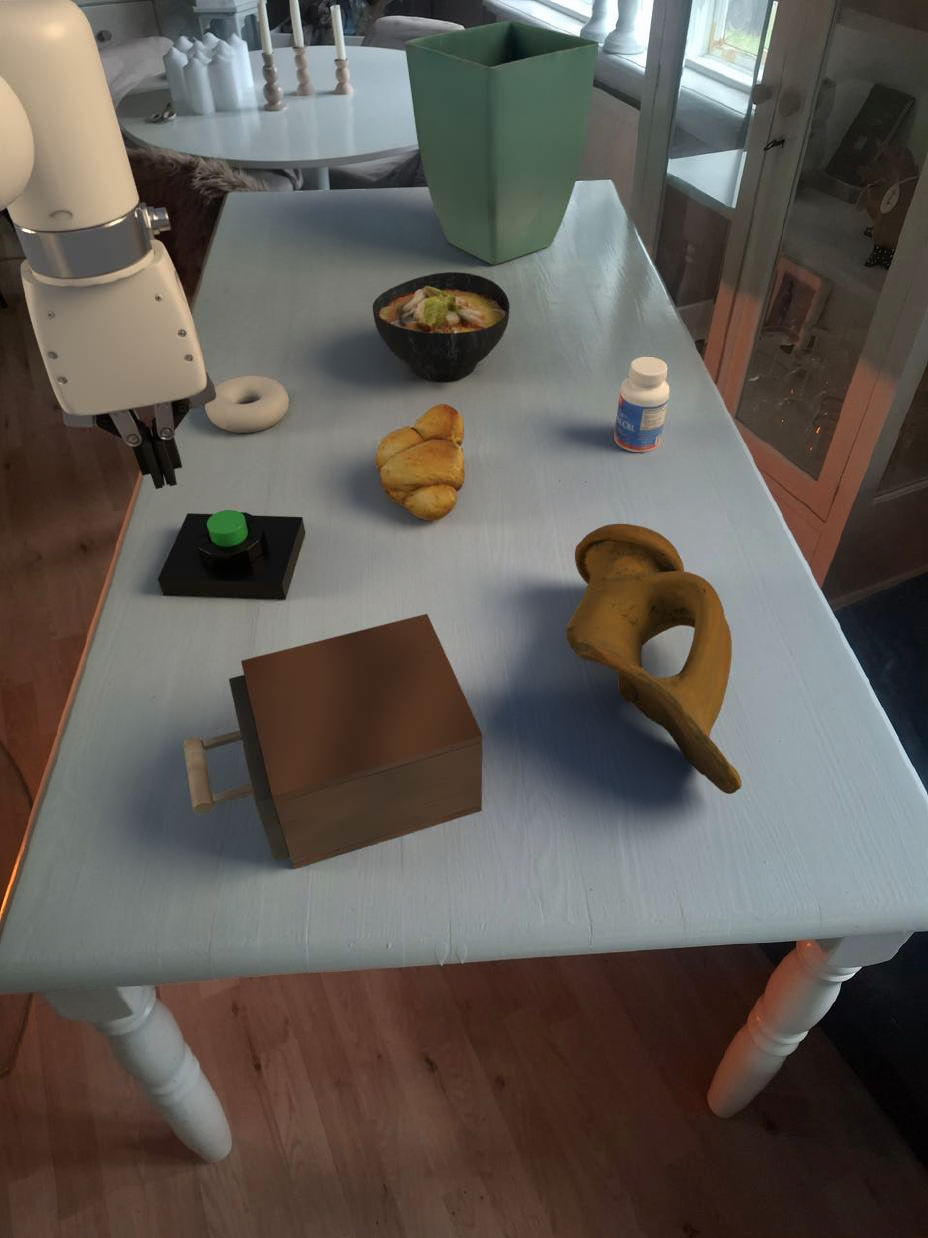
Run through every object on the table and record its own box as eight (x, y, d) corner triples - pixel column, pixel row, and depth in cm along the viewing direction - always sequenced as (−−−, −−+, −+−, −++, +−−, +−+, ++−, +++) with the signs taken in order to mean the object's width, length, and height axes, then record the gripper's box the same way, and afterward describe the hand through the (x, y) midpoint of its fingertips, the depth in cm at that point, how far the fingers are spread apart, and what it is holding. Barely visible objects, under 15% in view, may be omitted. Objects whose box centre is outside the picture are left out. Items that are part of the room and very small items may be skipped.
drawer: (214, 880, 61) (188, 821, 56) (194, 755, 69) (169, 693, 63) (450, 807, 65) (448, 745, 60) (407, 697, 73) (401, 633, 67)
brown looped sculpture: (471, 696, 64) (557, 491, 76) (524, 783, 73) (594, 588, 85) (723, 726, 55) (777, 487, 67) (748, 820, 64) (792, 596, 76)
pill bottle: (605, 433, 102) (614, 357, 95) (645, 424, 103) (657, 348, 96) (627, 458, 98) (638, 381, 91) (668, 448, 100) (683, 372, 93)
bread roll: (468, 528, 90) (468, 464, 84) (375, 532, 90) (368, 468, 84) (463, 457, 99) (462, 395, 93) (378, 460, 99) (372, 398, 93)
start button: (206, 546, 83) (202, 532, 81) (216, 522, 85) (212, 508, 84) (243, 548, 82) (239, 533, 81) (252, 524, 85) (248, 510, 84)
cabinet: (294, 869, 63) (271, 796, 56) (263, 738, 71) (240, 660, 64) (482, 810, 66) (482, 735, 59) (431, 691, 74) (427, 613, 68)
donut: (297, 395, 109) (219, 393, 109) (294, 370, 106) (213, 368, 107) (282, 440, 102) (198, 437, 102) (278, 414, 99) (192, 412, 100)
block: (162, 595, 83) (151, 564, 80) (192, 529, 90) (183, 498, 87) (285, 600, 83) (278, 569, 80) (305, 533, 90) (300, 502, 87)
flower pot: (412, 240, 142) (401, 38, 122) (505, 211, 150) (510, 17, 130) (487, 282, 131) (489, 66, 111) (584, 248, 139) (602, 42, 119)
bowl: (529, 351, 116) (532, 278, 109) (471, 413, 105) (470, 336, 98) (418, 324, 121) (415, 253, 114) (353, 381, 111) (344, 306, 104)
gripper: (200, 200, 58) (253, 432, 71) (-38, 233, 55) (64, 469, 68) (214, 243, 53) (268, 484, 66) (-47, 282, 50) (65, 527, 63)
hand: (164, 476), depth 67 cm, fingers closed
